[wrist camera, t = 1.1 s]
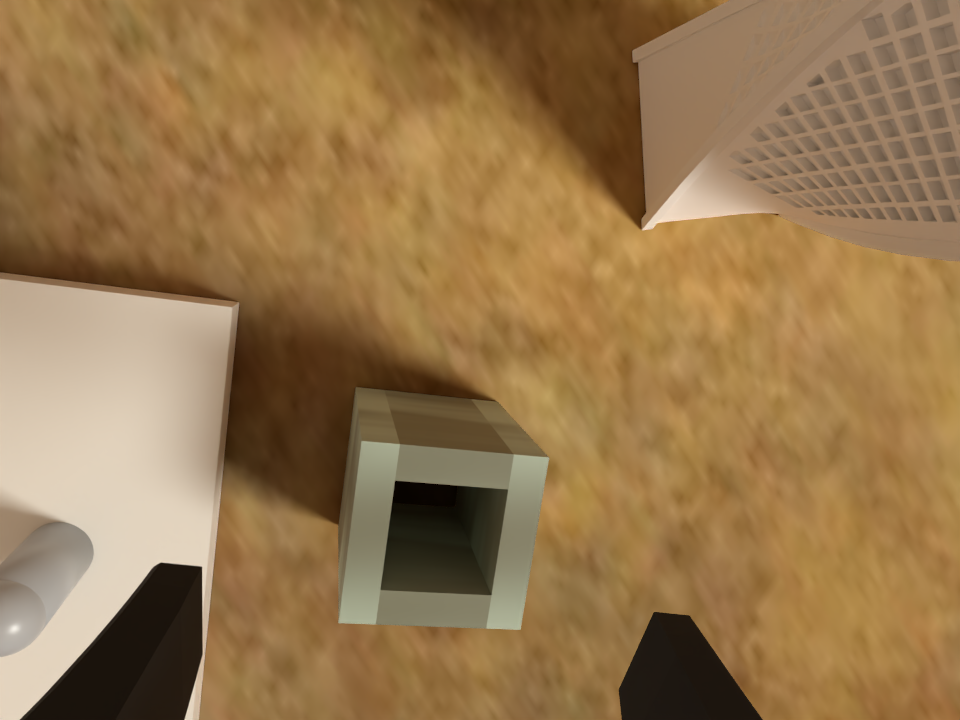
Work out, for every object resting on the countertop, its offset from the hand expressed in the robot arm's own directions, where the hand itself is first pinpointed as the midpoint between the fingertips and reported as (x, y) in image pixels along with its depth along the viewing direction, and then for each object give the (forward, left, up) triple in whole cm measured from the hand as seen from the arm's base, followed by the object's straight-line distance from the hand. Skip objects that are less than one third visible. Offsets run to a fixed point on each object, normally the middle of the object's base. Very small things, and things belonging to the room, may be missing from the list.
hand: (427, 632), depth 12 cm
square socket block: (-1, -1, -12) cm, 12 cm away
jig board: (-4, +13, -12) cm, 18 cm away
